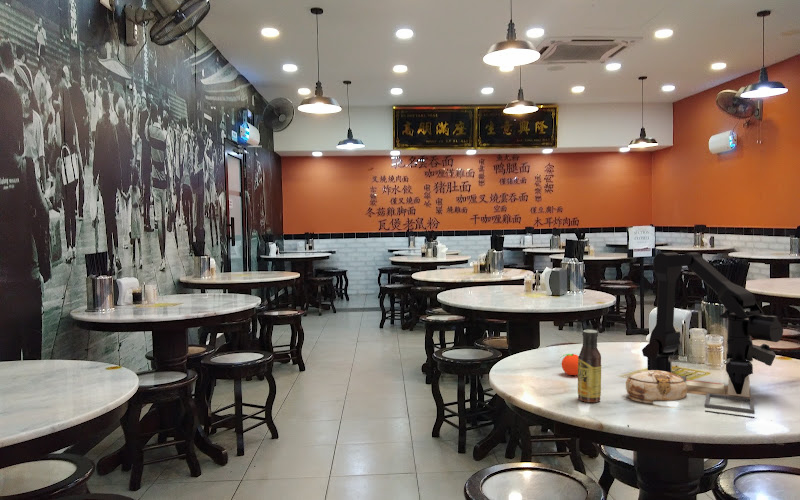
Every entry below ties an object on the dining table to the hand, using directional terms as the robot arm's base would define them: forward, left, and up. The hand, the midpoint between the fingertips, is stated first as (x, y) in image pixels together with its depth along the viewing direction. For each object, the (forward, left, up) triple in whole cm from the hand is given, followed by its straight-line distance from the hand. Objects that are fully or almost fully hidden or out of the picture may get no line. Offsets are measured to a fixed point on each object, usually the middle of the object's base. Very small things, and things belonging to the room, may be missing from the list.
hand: (738, 390), depth 160 cm
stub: (0, 0, -1) cm, 1 cm away
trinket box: (-20, -11, -2) cm, 23 cm away
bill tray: (-2, -12, -2) cm, 12 cm away
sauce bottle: (-36, -21, -2) cm, 42 cm away
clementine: (-47, +3, -2) cm, 47 cm away
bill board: (-6, 0, -2) cm, 6 cm away
